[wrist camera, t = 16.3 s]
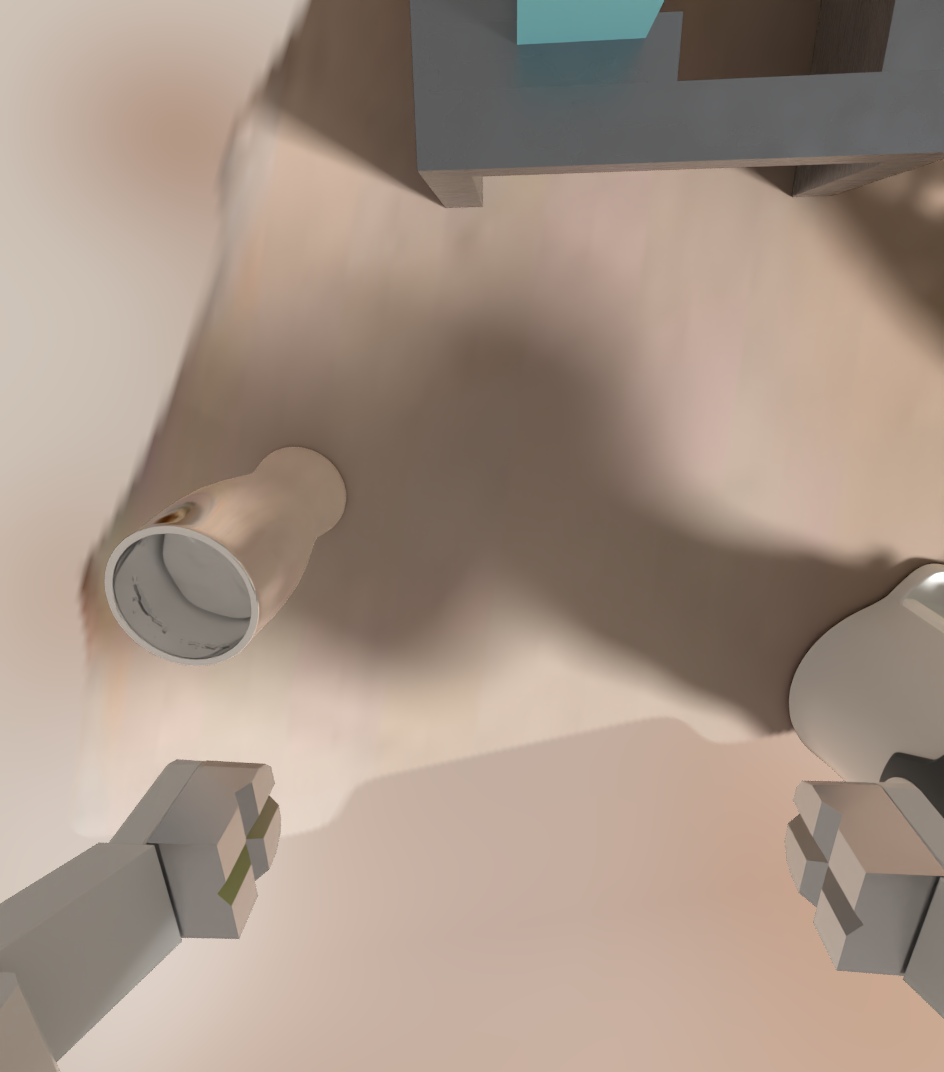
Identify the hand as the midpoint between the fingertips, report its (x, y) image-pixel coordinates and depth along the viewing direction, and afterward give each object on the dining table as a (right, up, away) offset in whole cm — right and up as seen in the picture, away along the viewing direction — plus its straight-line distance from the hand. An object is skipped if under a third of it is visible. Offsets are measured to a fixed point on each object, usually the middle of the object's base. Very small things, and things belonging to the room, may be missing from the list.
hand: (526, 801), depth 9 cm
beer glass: (-12, +7, +30) cm, 33 cm away
